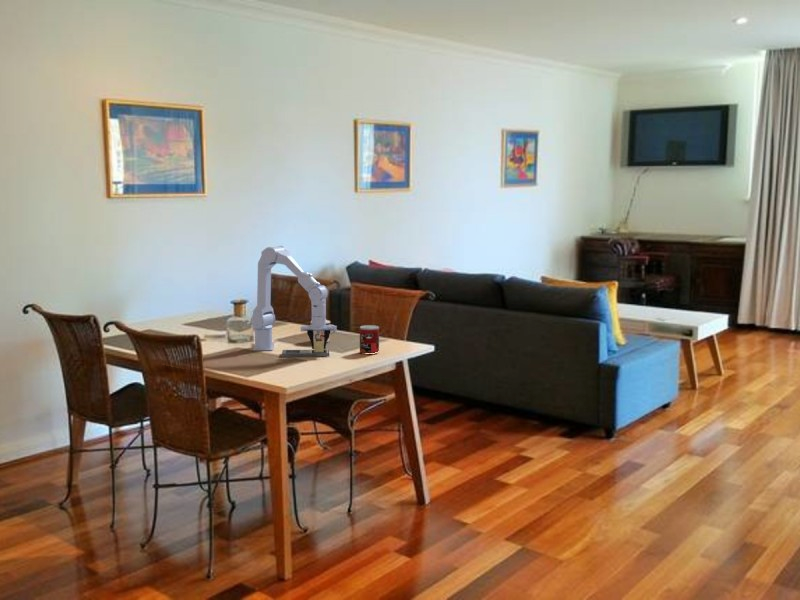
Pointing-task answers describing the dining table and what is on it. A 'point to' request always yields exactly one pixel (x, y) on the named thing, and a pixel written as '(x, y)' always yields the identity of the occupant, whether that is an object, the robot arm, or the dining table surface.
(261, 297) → the robot arm
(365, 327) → the canned food
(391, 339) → the dining table surface
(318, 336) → the teacup with lid
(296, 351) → the plate with square holes
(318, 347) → the cube with round knob
